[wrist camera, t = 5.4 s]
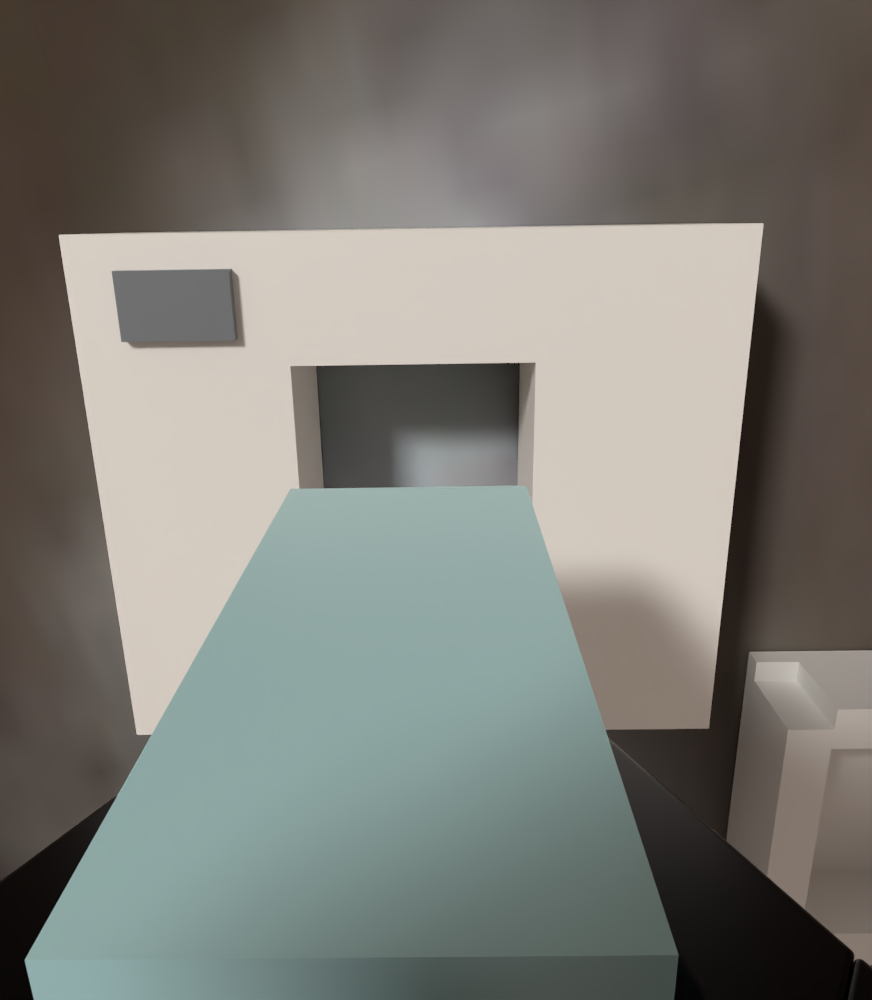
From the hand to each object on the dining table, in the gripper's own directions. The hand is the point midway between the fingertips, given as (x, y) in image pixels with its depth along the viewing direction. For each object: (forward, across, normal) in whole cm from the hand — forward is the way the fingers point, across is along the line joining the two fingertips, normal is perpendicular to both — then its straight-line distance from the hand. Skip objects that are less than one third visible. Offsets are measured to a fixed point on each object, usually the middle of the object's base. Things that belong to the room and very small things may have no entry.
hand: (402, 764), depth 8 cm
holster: (+11, -11, +8) cm, 18 cm away
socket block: (+11, 0, 0) cm, 11 cm away
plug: (+3, 0, 0) cm, 3 cm away
